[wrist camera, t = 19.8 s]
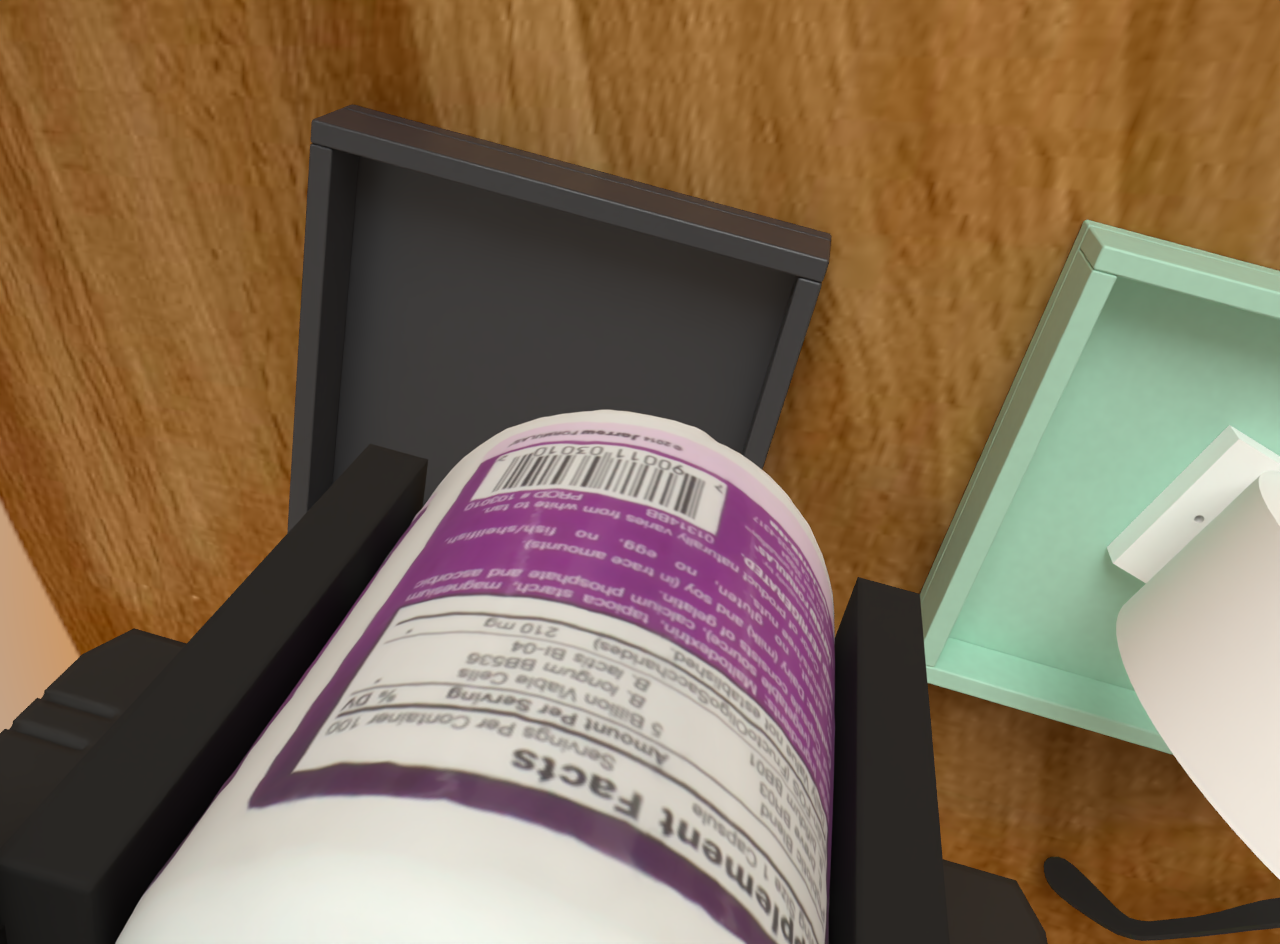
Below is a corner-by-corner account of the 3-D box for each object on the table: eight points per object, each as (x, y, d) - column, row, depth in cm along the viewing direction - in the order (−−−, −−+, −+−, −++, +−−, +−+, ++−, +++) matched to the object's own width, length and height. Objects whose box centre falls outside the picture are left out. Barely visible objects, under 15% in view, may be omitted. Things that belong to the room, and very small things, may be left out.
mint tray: (1084, 218, 26) (1103, 245, 24) (1624, 362, 25) (1692, 403, 23) (904, 628, 33) (907, 677, 30) (1329, 752, 32) (1361, 811, 30)
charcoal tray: (351, 103, 28) (310, 119, 26) (832, 233, 27) (829, 260, 25) (320, 511, 35) (285, 550, 33) (707, 625, 34) (697, 672, 32)
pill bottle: (638, 801, 15) (369, 1887, 7) (351, 566, 14) (-379, 1521, 6) (934, 603, 13) (1069, 1921, 4) (612, 299, 12) (-4, 1298, 3)
